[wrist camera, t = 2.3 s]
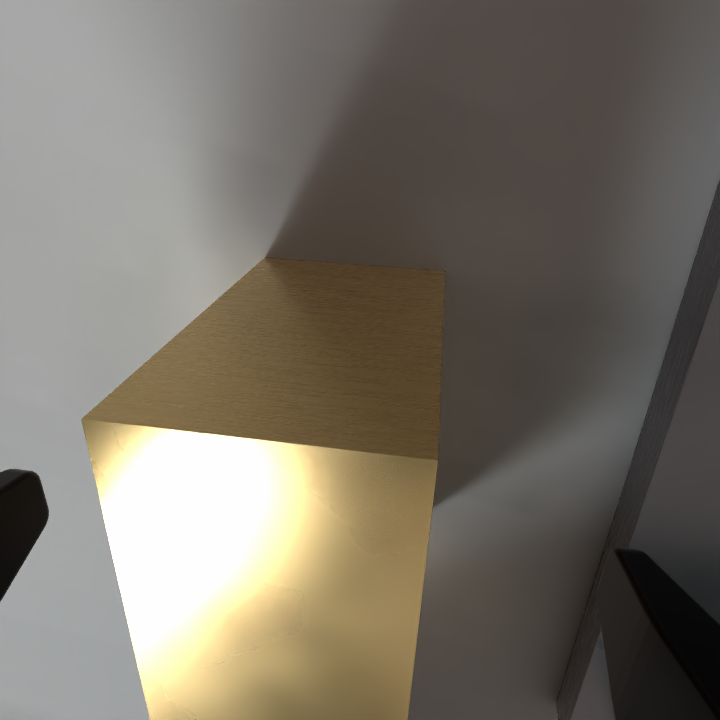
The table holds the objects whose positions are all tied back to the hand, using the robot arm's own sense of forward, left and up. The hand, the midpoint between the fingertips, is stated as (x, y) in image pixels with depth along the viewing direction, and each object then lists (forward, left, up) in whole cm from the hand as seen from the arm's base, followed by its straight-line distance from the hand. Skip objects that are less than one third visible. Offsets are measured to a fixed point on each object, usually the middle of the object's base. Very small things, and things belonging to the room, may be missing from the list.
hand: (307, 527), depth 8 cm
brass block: (0, 0, -4) cm, 4 cm away
